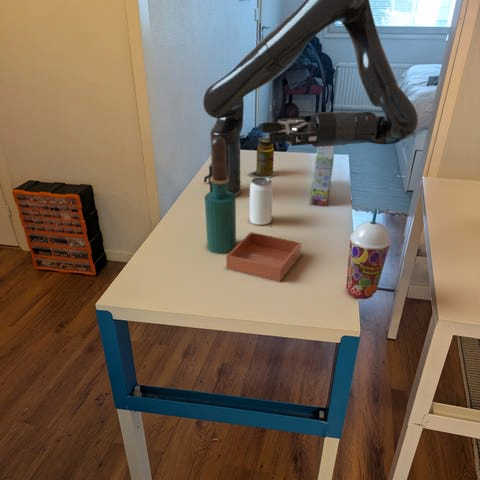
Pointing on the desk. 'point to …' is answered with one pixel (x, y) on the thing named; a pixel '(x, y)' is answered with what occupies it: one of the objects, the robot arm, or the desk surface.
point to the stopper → (219, 161)
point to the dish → (264, 256)
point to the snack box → (322, 175)
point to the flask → (220, 219)
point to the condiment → (264, 159)
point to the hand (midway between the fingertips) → (265, 132)
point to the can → (261, 201)
